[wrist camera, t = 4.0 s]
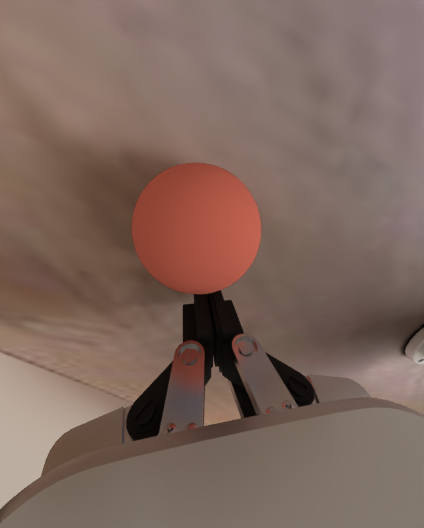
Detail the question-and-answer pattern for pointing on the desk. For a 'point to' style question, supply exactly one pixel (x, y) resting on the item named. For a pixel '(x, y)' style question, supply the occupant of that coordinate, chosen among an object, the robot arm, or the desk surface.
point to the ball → (196, 228)
